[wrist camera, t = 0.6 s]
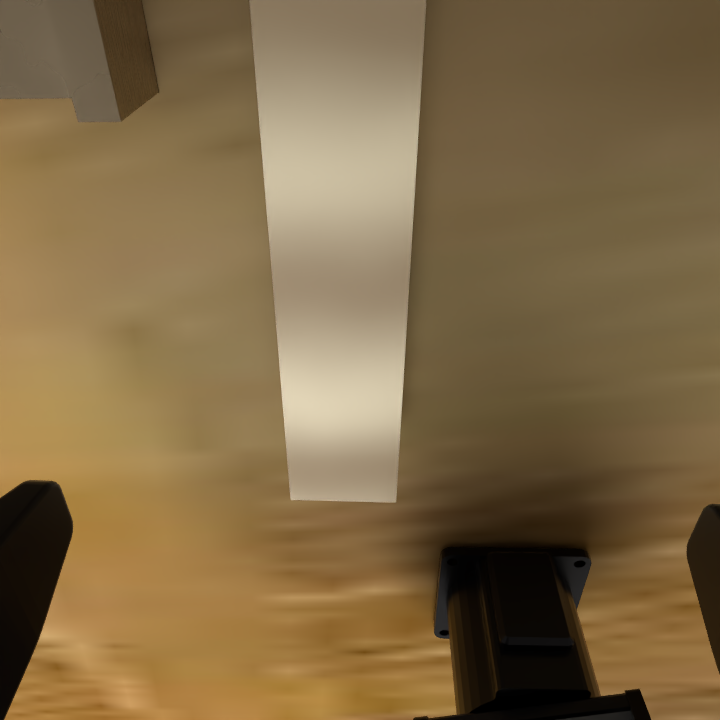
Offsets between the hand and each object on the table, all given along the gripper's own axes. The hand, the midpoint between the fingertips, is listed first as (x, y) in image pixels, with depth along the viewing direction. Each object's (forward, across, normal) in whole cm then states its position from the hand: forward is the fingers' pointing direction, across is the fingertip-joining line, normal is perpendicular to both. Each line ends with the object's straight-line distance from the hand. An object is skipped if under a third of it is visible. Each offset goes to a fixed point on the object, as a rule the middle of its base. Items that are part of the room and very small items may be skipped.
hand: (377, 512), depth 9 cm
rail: (+12, +1, +1) cm, 12 cm away
